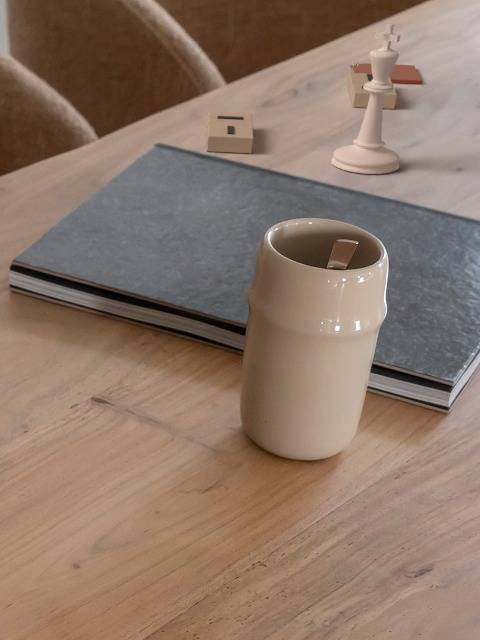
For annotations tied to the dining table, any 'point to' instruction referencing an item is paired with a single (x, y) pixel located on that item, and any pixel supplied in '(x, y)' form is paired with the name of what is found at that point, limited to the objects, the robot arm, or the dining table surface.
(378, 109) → the chess piece
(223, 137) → the left block
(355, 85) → the beige block
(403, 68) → the reddish brown square tile
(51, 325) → the dining table surface
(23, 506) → the dining table surface
